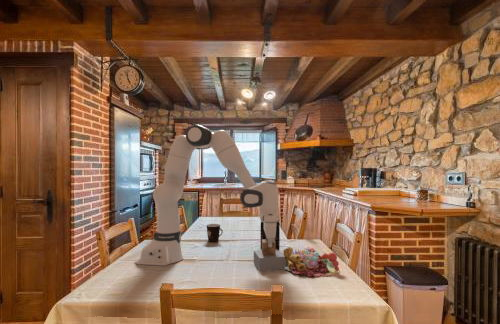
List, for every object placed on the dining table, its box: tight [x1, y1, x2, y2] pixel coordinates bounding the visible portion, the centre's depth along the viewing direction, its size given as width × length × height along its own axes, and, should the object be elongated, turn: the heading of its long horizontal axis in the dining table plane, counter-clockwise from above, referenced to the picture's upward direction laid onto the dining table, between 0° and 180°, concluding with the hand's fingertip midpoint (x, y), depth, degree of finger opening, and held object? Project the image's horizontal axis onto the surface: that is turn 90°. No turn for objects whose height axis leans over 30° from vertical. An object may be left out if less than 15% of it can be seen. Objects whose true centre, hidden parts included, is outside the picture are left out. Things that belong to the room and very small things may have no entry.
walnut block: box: [262, 239, 276, 256], centre depth 134 cm, size 6×6×6 cm
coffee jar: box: [260, 217, 281, 252], centre depth 157 cm, size 11×11×18 cm
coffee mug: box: [206, 223, 224, 243], centre depth 176 cm, size 12×9×10 cm
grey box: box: [253, 249, 286, 272], centre depth 134 cm, size 12×12×6 cm
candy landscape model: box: [282, 246, 340, 278], centre depth 132 cm, size 25×24×9 cm
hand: (268, 244), depth 134 cm, fingers open, 8 cm apart
